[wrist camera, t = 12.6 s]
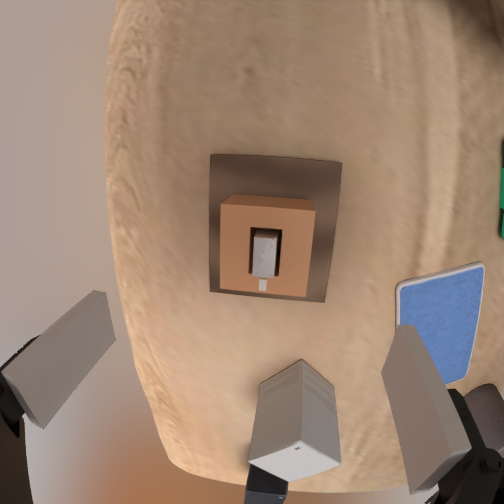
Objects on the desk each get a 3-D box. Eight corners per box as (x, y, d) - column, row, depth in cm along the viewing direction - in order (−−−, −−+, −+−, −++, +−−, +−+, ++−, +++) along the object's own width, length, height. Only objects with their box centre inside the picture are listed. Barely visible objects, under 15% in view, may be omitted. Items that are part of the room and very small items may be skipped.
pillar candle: (504, 383, 32) (536, 441, 18) (474, 421, 36) (497, 478, 22) (473, 381, 33) (506, 449, 19) (440, 421, 36) (462, 487, 22)
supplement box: (258, 383, 37) (244, 461, 25) (302, 357, 34) (301, 440, 22) (293, 410, 38) (288, 483, 26) (336, 387, 35) (343, 465, 23)
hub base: (214, 154, 28) (183, 156, 20) (339, 162, 26) (359, 167, 18) (213, 285, 32) (189, 328, 24) (323, 295, 31) (330, 343, 23)
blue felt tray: (464, 374, 33) (467, 379, 32) (391, 396, 36) (392, 402, 34) (481, 258, 27) (486, 262, 26) (392, 280, 30) (396, 285, 29)
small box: (253, 439, 41) (244, 491, 32) (292, 443, 41) (289, 495, 31) (250, 466, 45) (241, 510, 35) (283, 470, 44) (279, 514, 35)
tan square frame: (233, 194, 26) (220, 204, 22) (311, 199, 26) (315, 211, 21) (231, 265, 29) (219, 289, 24) (303, 272, 28) (305, 298, 23)
